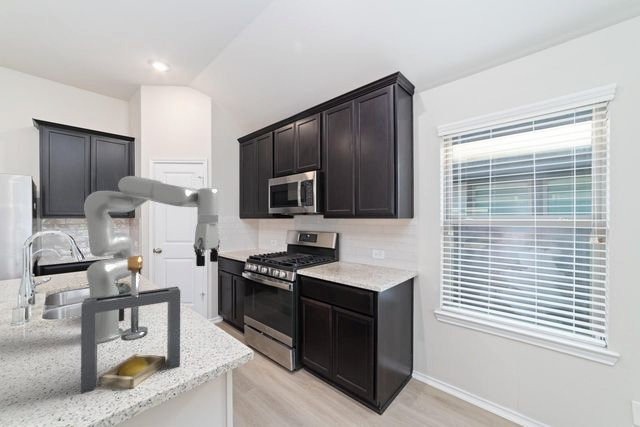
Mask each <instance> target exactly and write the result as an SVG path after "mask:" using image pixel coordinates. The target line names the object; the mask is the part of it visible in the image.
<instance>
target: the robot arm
mask: <svg viewBox="0 0 640 427" xmlns="http://www.w3.org/2000/svg"><path fill="white" fill-rule="evenodd" d="M118 181H119V182H118V184H117V185H118V190H119V191H114V190H98V191H94V192H92V193H90V194H89V195H87V197H86V199H85V200H84V204H83V210H84V215H85V219H86V222H87V234H88V244H89V251H90V254H91V255H92V256H94V257H97V258H100V257H102V258H103V257H110V256H112V257H113V258H107V259H106V258H105V259H101V260H98V261H95V262H93V263H91V264H90V265H89V267H87V270H86V279H87V282H88V287H89V298H92V297H100V296H108V295H116V294H119V290H118V288H117V286H116V285H117V283H116V282H117V280H118V281H119V280H122V279H126V278H128V277H131V271H129V270H127V264H128V257H130V256H135V251H134V250H135V249H134V242H133V240H132V238H131V236H130V235H128V234H127V233H125V232H119V231H118V232H116V231H115V224H114V221H113V218H112V217H111V215H110V214H109V213H110V212H115V213H116V212H117V213H127V212H128V213H129V212H132V211H134V210H136V209H137V208H138V207H141V205H143V204H144V203H146V202H147V201H151V202H154V203H159V204H164V205H169V206H174V207H180V208H181V207H184V208H197V210H196V212H197V219H196V221H197V223H196V226H195V233H194V234H195V235H194V244H193V249H194V250H193V251H194V253H195V256H196V257H195V262H196V263H195V264H196V267H205V266H206V255H205V253H206V251H208V250H210V252H209V262H212V263H218V261H219V251H220V250H219V248H220V243H221V240H220V239H219V227H218V224H219V190H218V189H216V188H210V187H204V188H203V187H202V188H199V189H197V188H192V187H187V186H181V185H173V184H168V183H164V182H163V181H161V180H156V179H151V178H146V177H141V176H134V175H126V176H124V177H122V178H121V179H120V180H118ZM114 282H115V283H116V284H115V283H114ZM119 324H120V321H119V310H112V311H106V312H99V313H98V315H97V344H101V343H106V342H110V341H113V340H115V339H118V338H119V337H120V338H121V333H122V332H123V331H124V329H123V328H120V325H119Z"/></svg>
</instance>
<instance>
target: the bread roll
mask: <svg viewBox="0 0 640 427" xmlns="http://www.w3.org/2000/svg"><path fill="white" fill-rule="evenodd" d="M148 366H149V363H148V362H147V361H146V360H144V359H133V360H130V361H128V362H127V363H125V364H124V365H123V366H122V367H121V368H120V370H119V375H118V376H128V377H134V376H135V375H137V374H138V373H140V372H141V371H142V370H144V369H145V368H146V367H148Z"/></svg>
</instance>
